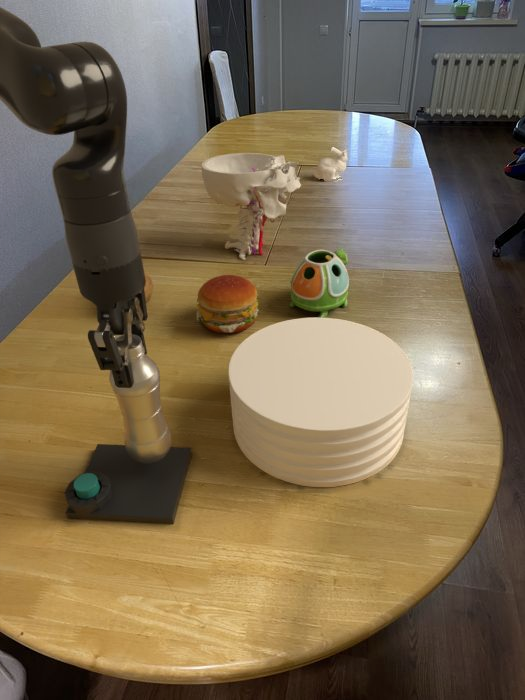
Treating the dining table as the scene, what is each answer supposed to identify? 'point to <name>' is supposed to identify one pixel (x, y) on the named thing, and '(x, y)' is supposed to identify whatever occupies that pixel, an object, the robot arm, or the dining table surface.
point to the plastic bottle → (142, 407)
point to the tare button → (86, 486)
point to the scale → (131, 487)
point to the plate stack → (319, 400)
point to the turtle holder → (320, 282)
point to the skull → (250, 192)
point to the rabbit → (332, 166)
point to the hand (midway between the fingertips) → (132, 370)
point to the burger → (227, 304)
